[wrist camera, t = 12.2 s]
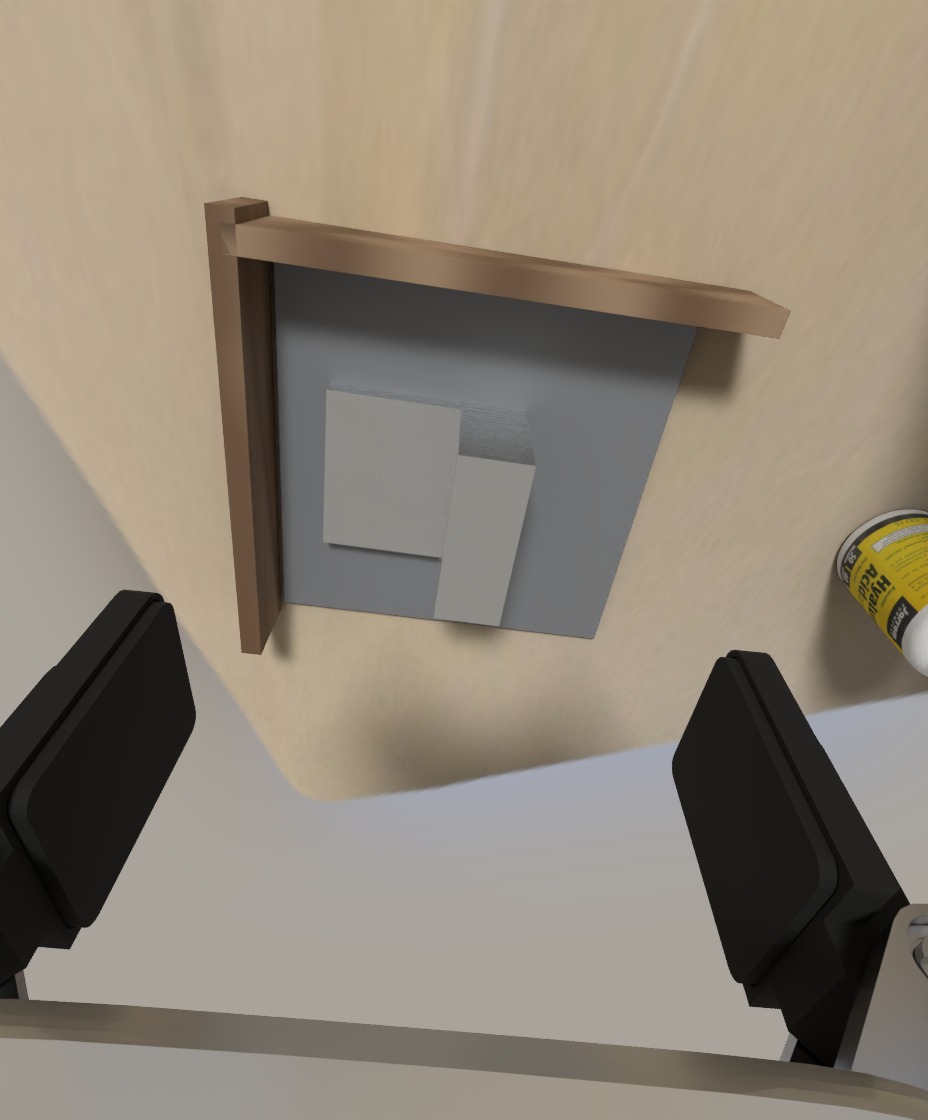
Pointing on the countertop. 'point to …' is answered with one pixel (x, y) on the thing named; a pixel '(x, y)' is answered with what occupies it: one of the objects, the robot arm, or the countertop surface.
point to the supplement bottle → (892, 578)
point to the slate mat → (485, 379)
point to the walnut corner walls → (255, 239)
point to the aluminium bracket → (430, 488)
